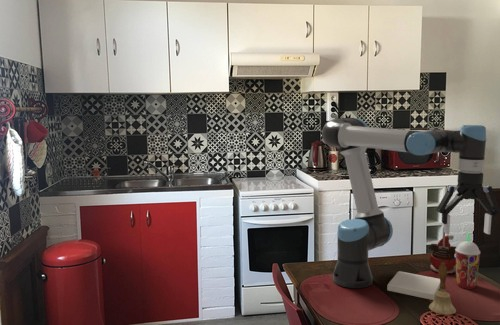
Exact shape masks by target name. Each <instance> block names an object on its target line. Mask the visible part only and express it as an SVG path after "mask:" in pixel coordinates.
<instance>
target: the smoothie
mask: <svg viewBox="0 0 500 325" xmlns="http://www.w3.org/2000/svg"><path fill="white" fill-rule="evenodd" d="M466 236H467V237H466V238H467V239H466V240H464V241H461V242H459V243H458V245H457V246H456V249H455V251H456V252H455V253H456V254H455V257H456V265H455V268H456V271H455V280H456V283H457V285H458V287H459V288H462V289H466V290H467V289H469V290H472V289H475V287H476V286H477V284H478V277H479V276H478V275H479V274H478V273H479V266H480V257H481V250H480V249H479V247H478V245H477V244H476V243H475V242H473V241H470V233H467V235H466Z"/></svg>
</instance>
